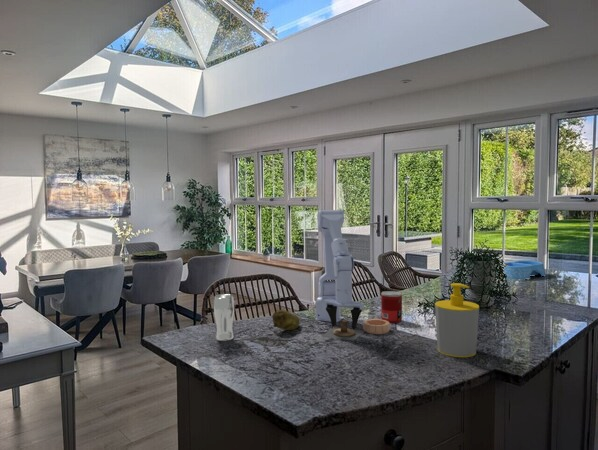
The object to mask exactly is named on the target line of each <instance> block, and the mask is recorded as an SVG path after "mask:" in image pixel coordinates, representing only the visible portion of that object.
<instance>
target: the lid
mask: <svg viewBox="0 0 598 450" xmlns="http://www.w3.org/2000/svg"><path fill="white" fill-rule="evenodd" d="M354 330H355V329H354ZM354 330H352V328H349V327H348V320H343V319H341V320H340V327H339V329H335V330H334V331H333V334H334V335H336V336H341V337H349V336H353V335H355V331H354Z"/></svg>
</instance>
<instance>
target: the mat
mask: <svg viewBox="0 0 598 450" xmlns="http://www.w3.org/2000/svg"><path fill="white" fill-rule="evenodd" d="M339 328H340V327H339V326H334V327H333V328H331V329H329V331H327V332H326V333H324V334H322V335H321V337H323V338H324V337H325V338H331V339H332V338H333V339H337V340H346V341H351V342H354V341H355V340H357V339H358V338H360V337H361V336H362V335H363V334H365V333H367V332H366V331H364V330H362V329H352V328H351V329H352V330H354V331H355V335H353V336H349V337H341V336H336V335H334V334H333V331H334V330H335V329H339Z"/></svg>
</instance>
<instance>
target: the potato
mask: <svg viewBox="0 0 598 450" xmlns="http://www.w3.org/2000/svg"><path fill="white" fill-rule="evenodd" d="M271 318H272V323H273V326H274V327H277V328H278V329H280V330H286V331H294V330H296V329H297V328H298V327H299V326H300V318H299V316H298V315H296V314H293V313H292V312H289V311H288V310H285V309H280V310H276V311H274V312H273V314H272V317H271Z"/></svg>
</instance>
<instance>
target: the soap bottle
mask: <svg viewBox="0 0 598 450" xmlns="http://www.w3.org/2000/svg"><path fill="white" fill-rule="evenodd" d="M450 287H452V293H451V294H450V296H449V297H450V299H444V300H438V301H436V302H435V304H434V307H435V309H434V310H435V312H434V313H435V324H436V325H435V328H436V343H437V344H436V346H437V351H438V352H439V353H441V354H443V355H446V356H448V357H454V358H470V357H474V356H476V355H477V345H478V343H477V342H478V329H479V328H478V327H479V316H480V314H479V313H480V305H479V304H477V303H475V302H471V301H466V300H464V295H463V294H462V291H461V289H462V288H464V289H470V286H468V285H466V284H463V283H458V282H457V283H456V282H452V283H450Z"/></svg>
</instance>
